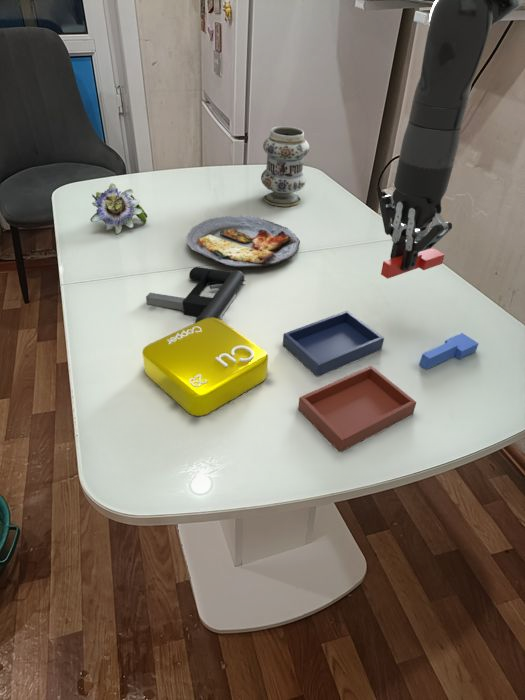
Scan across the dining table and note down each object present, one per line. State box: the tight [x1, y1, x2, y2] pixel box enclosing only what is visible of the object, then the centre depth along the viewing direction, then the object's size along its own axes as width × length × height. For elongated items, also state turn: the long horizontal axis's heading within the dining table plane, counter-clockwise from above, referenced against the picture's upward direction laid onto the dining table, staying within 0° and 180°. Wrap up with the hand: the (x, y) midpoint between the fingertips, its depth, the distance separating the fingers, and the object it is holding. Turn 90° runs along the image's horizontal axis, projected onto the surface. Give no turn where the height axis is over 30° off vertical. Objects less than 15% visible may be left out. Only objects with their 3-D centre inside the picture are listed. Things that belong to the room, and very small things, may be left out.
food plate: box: [185, 215, 301, 269], centre depth 115 cm, size 25×23×4 cm
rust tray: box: [297, 365, 417, 453], centre depth 75 cm, size 14×10×2 cm
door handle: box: [145, 266, 246, 323], centre depth 97 cm, size 3×20×16 cm
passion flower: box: [89, 182, 148, 235], centre depth 120 cm, size 11×11×12 cm
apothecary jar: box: [260, 125, 310, 208], centre depth 133 cm, size 12×12×18 cm
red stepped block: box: [380, 247, 446, 279], centre depth 83 cm, size 11×4×2 cm, turn 122°
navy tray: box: [282, 310, 385, 377], centre depth 87 cm, size 14×10×2 cm
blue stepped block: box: [418, 332, 480, 371], centre depth 86 cm, size 11×4×2 cm, turn 123°
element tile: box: [141, 317, 269, 417], centre depth 80 cm, size 15×15×5 cm
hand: (401, 266), depth 82 cm, fingers closed on red stepped block, 1 cm apart
